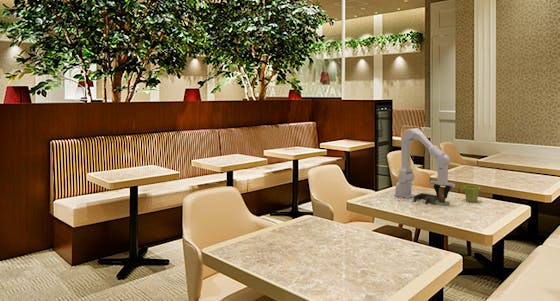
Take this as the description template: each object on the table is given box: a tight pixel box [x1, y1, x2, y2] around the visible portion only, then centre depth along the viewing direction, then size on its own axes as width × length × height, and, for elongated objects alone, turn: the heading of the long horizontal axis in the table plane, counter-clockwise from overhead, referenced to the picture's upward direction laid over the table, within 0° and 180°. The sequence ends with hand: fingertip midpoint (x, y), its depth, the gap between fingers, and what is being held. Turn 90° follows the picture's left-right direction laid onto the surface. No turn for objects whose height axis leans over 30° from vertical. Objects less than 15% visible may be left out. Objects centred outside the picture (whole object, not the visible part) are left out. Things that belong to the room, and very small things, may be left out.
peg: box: [438, 186, 446, 202], centre depth 255 cm, size 4×4×8 cm
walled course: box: [412, 192, 438, 205], centre depth 260 cm, size 12×11×4 cm
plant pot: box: [463, 185, 481, 203], centre depth 260 cm, size 9×9×9 cm
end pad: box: [434, 200, 451, 206], centre depth 255 cm, size 7×7×1 cm
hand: (441, 197), depth 255 cm, fingers closed on peg, 4 cm apart
